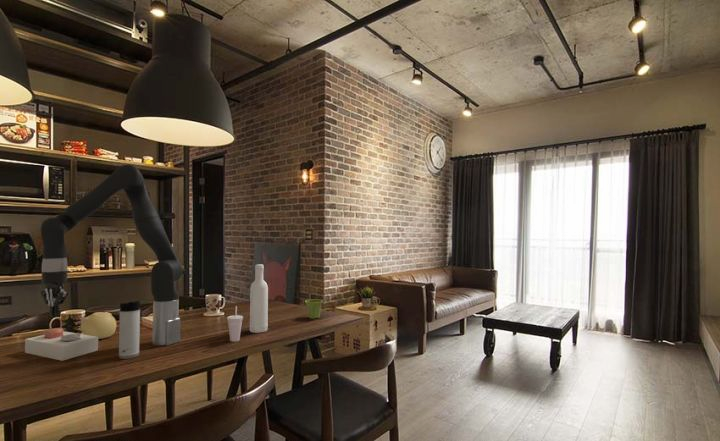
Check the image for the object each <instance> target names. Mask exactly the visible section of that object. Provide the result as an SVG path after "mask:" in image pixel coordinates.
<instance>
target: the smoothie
mask: <svg viewBox="0 0 720 441" xmlns="http://www.w3.org/2000/svg"><path fill="white" fill-rule="evenodd" d="M234 311H235V315H229V316H227V317H226V320H227V325H228V335H229V341H230V342H239V341H240V338H241V331H242V323H243V320H244V316H243V315H241V314H238V306H237V305H235V310H234Z"/></svg>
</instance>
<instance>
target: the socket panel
mask: <svg viewBox="0 0 720 441" xmlns="http://www.w3.org/2000/svg"><path fill="white" fill-rule="evenodd" d="M69 334H78V332H77V333H75V332H71V331H70V332H69V331H66V330H65V331H64V330H63V336H65V335H69ZM79 334H80V339H78V340H74V341H70V342H63V341H61V337H62V336H61V337H57V338H53V339H48V338H44V336H45V335H44V334H41V335H37V336H34V337H28V338H25V340H24V353H25V354H29V355H34V356H39V357H43V358H49V359H52V360H57V361H58V360H59V361H61V362H62V361H66V360H70V359H73V358H76V357H77V358H78V357H80V356H83V355H86V354H90V353H93V352H94V353H95V352H96V351H99V350H98V349H99V339H98V337H95V336H89V335H84V333H83V334H82V333H79Z"/></svg>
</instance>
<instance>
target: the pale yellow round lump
mask: <svg viewBox="0 0 720 441" xmlns="http://www.w3.org/2000/svg"><path fill="white" fill-rule="evenodd" d="M80 324H81V325H80V330H82V333H83V335H89V336H95V337H98V340H102V339H107V338H109V337H111V336H113V335H114V334H115V332H116V329H117V320H116V318H115V317H114V316H113V315H112V313H110V312H108V311H104V312H103V311H98V312H96V311H95V312H94V313H92V314H90V315H88V316H86V317H84V318H82V319H81V320H80Z"/></svg>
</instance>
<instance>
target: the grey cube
mask: <svg viewBox="0 0 720 441" xmlns="http://www.w3.org/2000/svg"><path fill="white" fill-rule="evenodd" d="M80 334H81V333H77V334H69V335H65V336H62V337H61V341H63V342H70V341H74V340H78V339H80Z"/></svg>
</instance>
